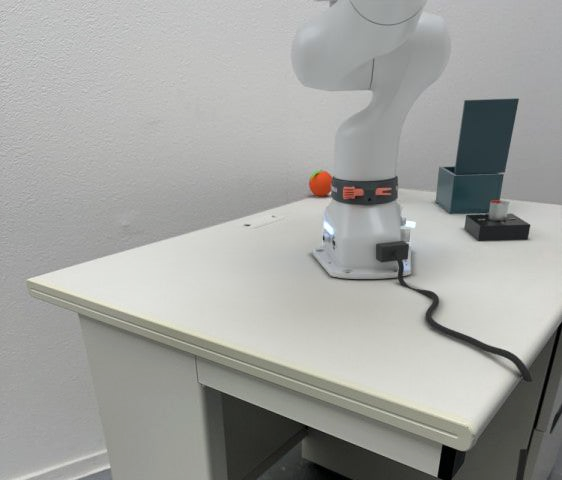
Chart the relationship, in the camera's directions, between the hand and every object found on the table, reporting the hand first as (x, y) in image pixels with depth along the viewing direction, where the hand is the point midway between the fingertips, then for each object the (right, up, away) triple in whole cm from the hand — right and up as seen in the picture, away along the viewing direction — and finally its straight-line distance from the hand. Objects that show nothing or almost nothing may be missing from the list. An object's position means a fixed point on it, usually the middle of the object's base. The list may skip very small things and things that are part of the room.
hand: (362, 28), depth 107 cm
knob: (+29, -36, +6) cm, 47 cm away
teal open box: (+31, -26, +31) cm, 51 cm away
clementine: (-5, -17, +49) cm, 52 cm away
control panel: (+29, -39, +7) cm, 49 cm away
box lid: (+30, -14, +16) cm, 37 cm away
